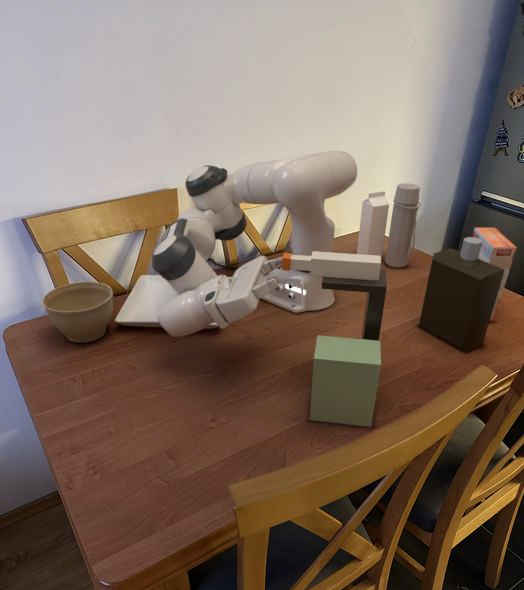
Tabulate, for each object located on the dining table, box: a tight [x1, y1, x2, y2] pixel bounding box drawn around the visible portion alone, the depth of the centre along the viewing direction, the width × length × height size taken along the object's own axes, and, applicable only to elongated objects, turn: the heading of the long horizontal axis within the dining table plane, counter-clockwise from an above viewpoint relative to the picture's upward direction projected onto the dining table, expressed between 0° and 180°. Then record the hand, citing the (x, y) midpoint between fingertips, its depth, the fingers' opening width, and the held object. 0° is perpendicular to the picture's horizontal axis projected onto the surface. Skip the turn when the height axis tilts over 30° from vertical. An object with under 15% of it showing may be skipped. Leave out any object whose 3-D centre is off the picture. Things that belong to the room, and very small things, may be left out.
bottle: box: [418, 236, 504, 353], centre depth 116 cm, size 8×16×25 cm, turn 33°
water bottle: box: [384, 182, 422, 269], centre depth 151 cm, size 9×8×25 cm
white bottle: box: [282, 251, 382, 281], centre depth 94 cm, size 18×4×4 cm, turn 80°
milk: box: [356, 191, 390, 260], centre depth 156 cm, size 6×6×22 cm
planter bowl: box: [42, 281, 114, 344], centre depth 121 cm, size 16×16×11 cm
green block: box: [309, 334, 382, 428], centre depth 95 cm, size 12×8×15 cm, turn 80°
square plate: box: [114, 274, 230, 330], centre depth 134 cm, size 27×27×4 cm
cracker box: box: [471, 226, 517, 322], centre depth 128 cm, size 14×6×21 cm, turn 178°
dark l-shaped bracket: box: [322, 268, 388, 341], centre depth 102 cm, size 12×8×25 cm, turn 80°
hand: (280, 270), depth 97 cm, fingers open, 8 cm apart
